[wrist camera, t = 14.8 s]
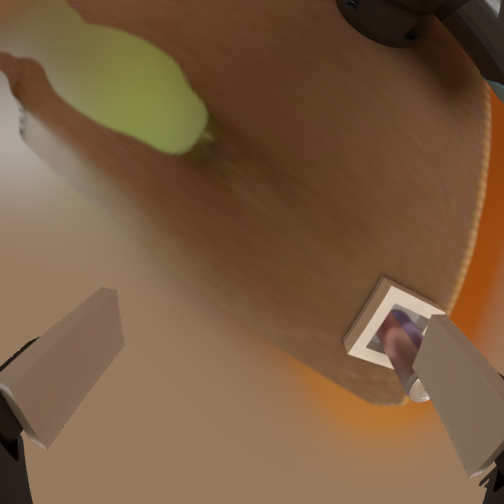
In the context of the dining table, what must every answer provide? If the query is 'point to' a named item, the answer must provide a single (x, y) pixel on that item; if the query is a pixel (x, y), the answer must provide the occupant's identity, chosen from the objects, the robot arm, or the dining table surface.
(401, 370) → the beverage can
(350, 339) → the holder
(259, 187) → the dining table surface
